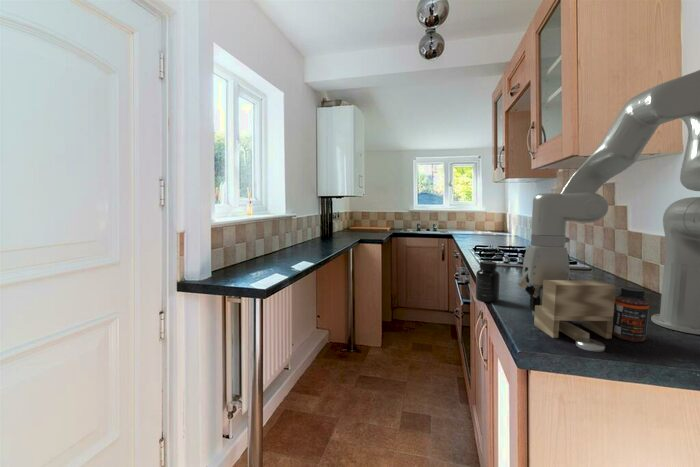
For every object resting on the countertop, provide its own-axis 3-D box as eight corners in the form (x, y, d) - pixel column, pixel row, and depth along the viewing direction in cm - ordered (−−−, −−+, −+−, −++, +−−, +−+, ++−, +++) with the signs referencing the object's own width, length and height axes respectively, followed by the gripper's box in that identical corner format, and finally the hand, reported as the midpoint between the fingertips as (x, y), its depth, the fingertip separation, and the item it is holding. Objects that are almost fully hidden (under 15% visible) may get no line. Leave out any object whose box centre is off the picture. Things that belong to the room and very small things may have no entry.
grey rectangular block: (547, 315, 90) (548, 285, 90) (591, 340, 73) (593, 304, 73) (531, 314, 90) (533, 285, 90) (572, 340, 73) (575, 304, 73)
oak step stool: (587, 325, 83) (590, 277, 82) (611, 338, 75) (615, 285, 74) (534, 325, 83) (536, 277, 82) (552, 337, 75) (555, 285, 74)
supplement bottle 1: (479, 296, 110) (481, 259, 109) (501, 299, 106) (503, 262, 105) (472, 300, 105) (473, 262, 104) (495, 304, 101) (496, 264, 100)
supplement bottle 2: (618, 340, 74) (622, 290, 73) (607, 331, 80) (610, 284, 79) (651, 344, 72) (656, 292, 71) (638, 334, 78) (642, 286, 77)
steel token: (592, 343, 73) (592, 337, 73) (610, 353, 68) (611, 347, 68) (570, 343, 73) (570, 337, 73) (586, 353, 68) (587, 347, 68)
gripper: (571, 240, 90) (567, 307, 92) (508, 240, 90) (505, 306, 92) (590, 243, 83) (586, 316, 84) (521, 243, 83) (518, 315, 85)
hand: (543, 310), depth 88 cm, fingers closed on grey rectangular block, 4 cm apart
